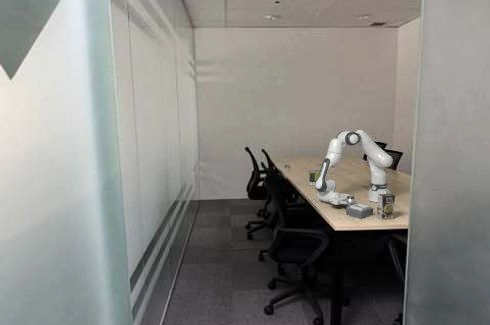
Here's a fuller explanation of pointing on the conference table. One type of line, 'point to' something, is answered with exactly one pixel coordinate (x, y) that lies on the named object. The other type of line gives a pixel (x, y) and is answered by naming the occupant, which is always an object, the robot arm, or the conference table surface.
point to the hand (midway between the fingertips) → (351, 201)
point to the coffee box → (385, 206)
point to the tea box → (313, 176)
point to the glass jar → (350, 201)
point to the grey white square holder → (359, 211)
